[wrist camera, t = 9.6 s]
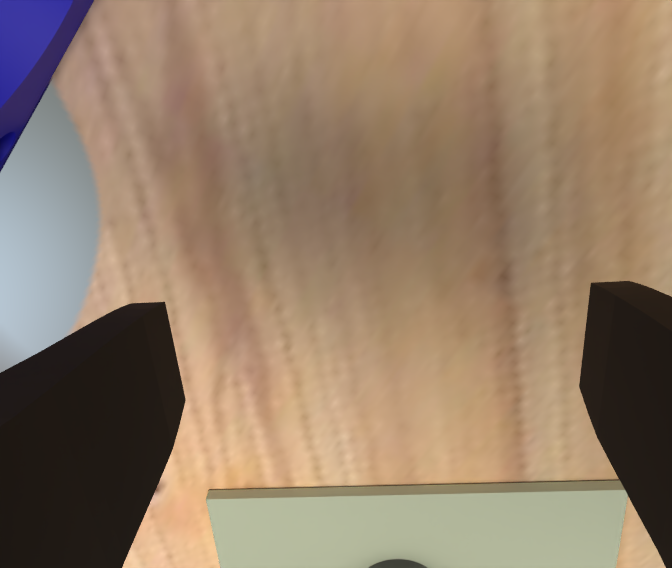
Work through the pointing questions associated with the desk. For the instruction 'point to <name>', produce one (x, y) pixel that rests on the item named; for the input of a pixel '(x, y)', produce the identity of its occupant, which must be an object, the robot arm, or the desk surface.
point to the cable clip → (31, 58)
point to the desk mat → (421, 525)
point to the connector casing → (397, 564)
